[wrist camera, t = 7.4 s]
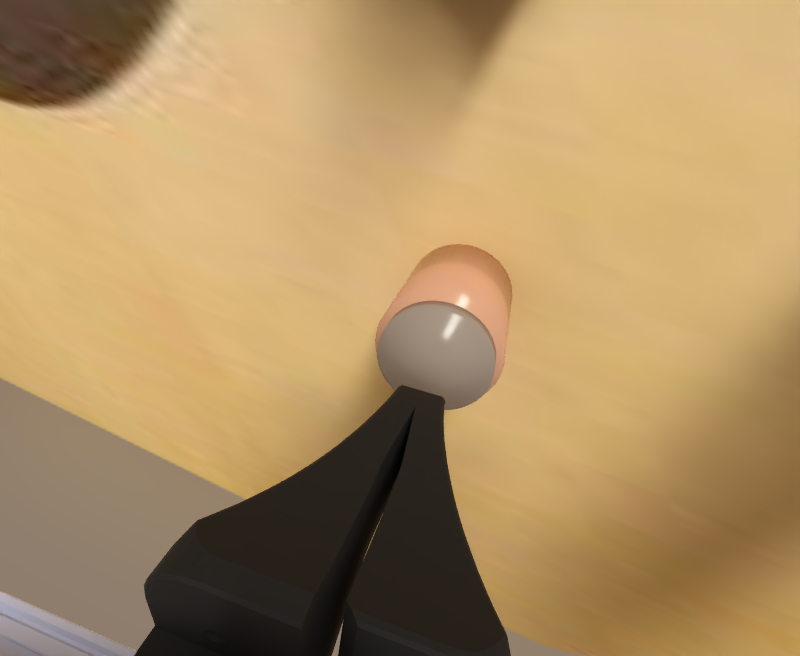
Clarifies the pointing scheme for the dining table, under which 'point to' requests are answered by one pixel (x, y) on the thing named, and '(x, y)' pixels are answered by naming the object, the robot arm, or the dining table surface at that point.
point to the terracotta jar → (448, 326)
